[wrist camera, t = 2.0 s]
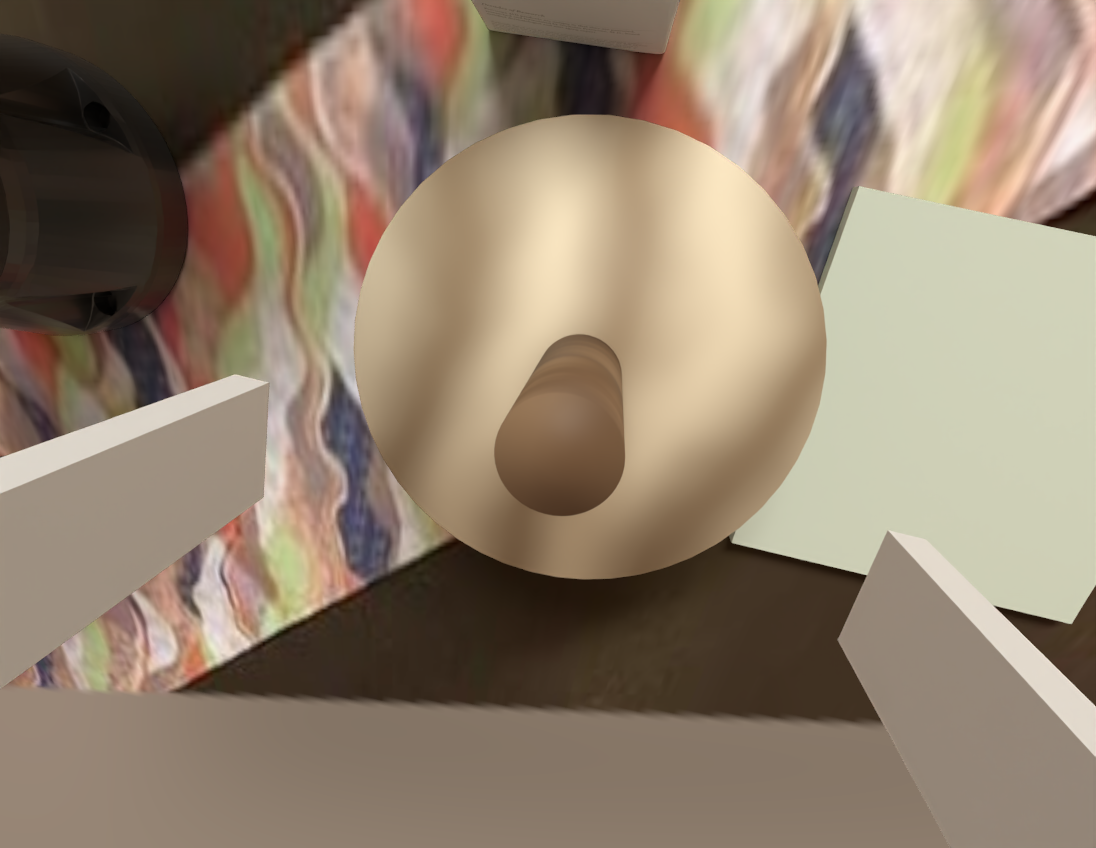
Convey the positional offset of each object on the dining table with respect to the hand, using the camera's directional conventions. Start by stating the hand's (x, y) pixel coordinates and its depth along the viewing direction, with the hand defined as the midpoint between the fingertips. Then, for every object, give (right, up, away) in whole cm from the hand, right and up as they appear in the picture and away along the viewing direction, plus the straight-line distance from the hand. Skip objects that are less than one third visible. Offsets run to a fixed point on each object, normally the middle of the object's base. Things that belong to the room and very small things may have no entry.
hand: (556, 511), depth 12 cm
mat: (+23, +2, +19) cm, 30 cm away
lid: (+1, +4, +12) cm, 13 cm away
